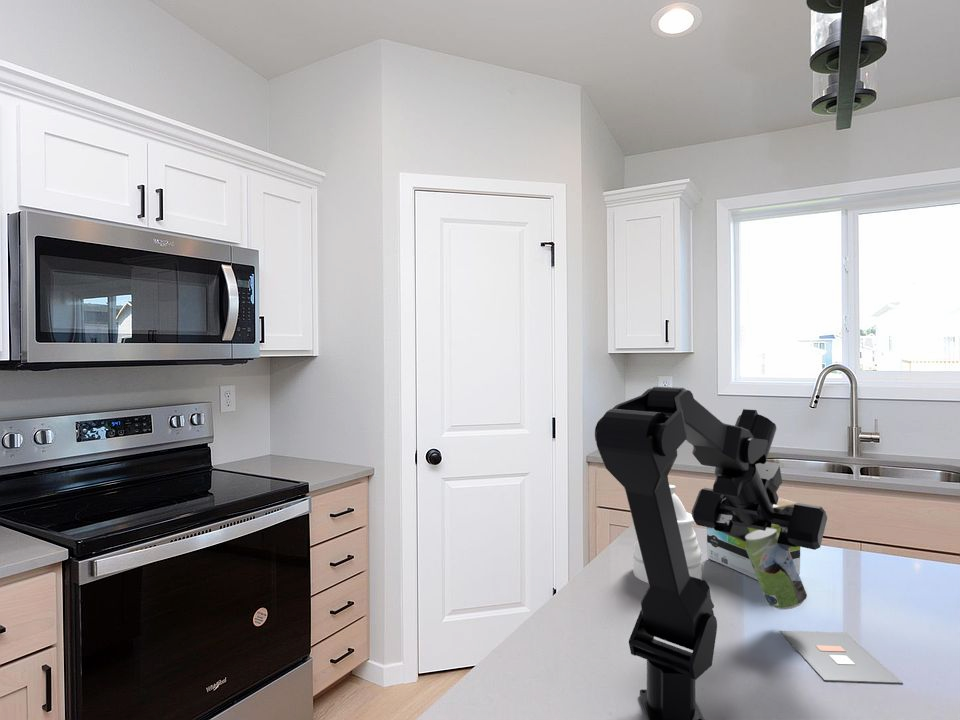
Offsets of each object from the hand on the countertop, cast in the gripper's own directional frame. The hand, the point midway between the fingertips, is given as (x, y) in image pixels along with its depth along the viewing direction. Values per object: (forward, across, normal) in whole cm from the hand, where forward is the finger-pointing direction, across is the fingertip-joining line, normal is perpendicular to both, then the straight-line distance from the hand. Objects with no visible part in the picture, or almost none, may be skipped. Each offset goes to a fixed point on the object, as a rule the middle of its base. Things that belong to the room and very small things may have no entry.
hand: (768, 545), depth 98 cm
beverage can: (+5, -3, +7) cm, 9 cm away
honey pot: (+14, +21, +4) cm, 26 cm away
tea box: (+25, +11, -7) cm, 28 cm away
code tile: (+5, -11, +12) cm, 17 cm away
